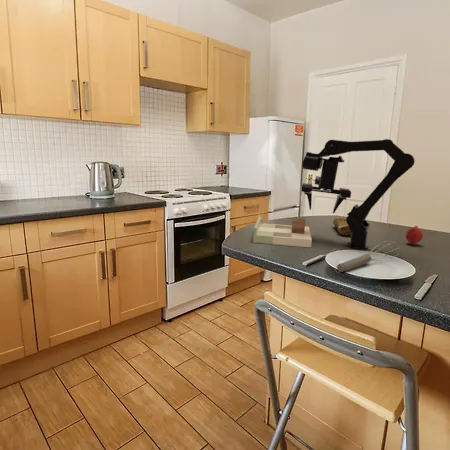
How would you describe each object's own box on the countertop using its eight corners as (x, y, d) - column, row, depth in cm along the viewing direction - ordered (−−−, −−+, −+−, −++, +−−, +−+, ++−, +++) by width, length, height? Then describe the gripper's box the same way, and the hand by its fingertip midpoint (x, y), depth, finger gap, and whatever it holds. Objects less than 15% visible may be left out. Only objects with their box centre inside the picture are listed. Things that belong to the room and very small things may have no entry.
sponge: (362, 241, 142) (363, 223, 159) (360, 224, 140) (362, 208, 156) (330, 242, 148) (334, 224, 165) (328, 226, 145) (333, 210, 162)
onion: (412, 247, 132) (415, 227, 130) (401, 243, 137) (404, 224, 135) (424, 246, 133) (427, 227, 132) (412, 242, 139) (415, 223, 137)
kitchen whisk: (327, 270, 103) (329, 251, 102) (385, 254, 123) (387, 237, 121) (344, 277, 99) (346, 257, 97) (401, 259, 118) (404, 242, 117)
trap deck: (311, 247, 126) (312, 232, 125) (253, 242, 130) (254, 227, 129) (308, 233, 147) (309, 220, 146) (258, 229, 151) (259, 216, 150)
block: (304, 233, 134) (305, 221, 133) (291, 232, 135) (292, 220, 134) (303, 230, 139) (304, 219, 138) (291, 229, 140) (292, 218, 139)
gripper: (350, 173, 136) (343, 210, 140) (304, 168, 140) (298, 204, 144) (355, 176, 126) (346, 216, 130) (304, 170, 129) (298, 209, 133)
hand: (321, 211), depth 135 cm, fingers open, 9 cm apart
